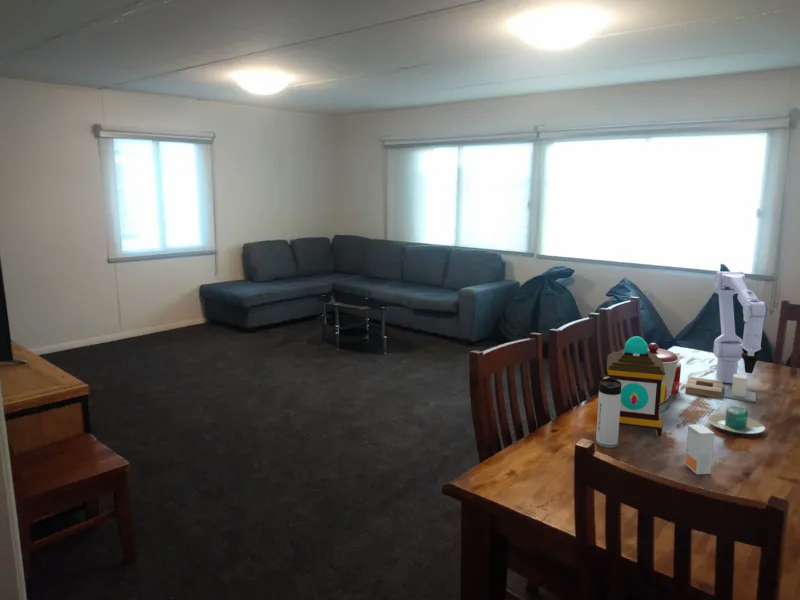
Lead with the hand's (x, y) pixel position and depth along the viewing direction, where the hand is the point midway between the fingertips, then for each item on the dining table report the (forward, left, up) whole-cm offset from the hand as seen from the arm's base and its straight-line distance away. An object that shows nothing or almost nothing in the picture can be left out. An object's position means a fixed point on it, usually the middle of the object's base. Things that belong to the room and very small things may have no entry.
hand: (748, 370), depth 214 cm
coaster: (+1, -2, -10) cm, 10 cm away
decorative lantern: (+49, -33, -10) cm, 60 cm away
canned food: (+7, -26, -10) cm, 29 cm away
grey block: (+1, -2, -9) cm, 10 cm away
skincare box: (+73, -12, -10) cm, 75 cm away
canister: (+20, -31, -10) cm, 38 cm away
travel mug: (+68, -37, -10) cm, 78 cm away
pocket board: (0, -14, -10) cm, 17 cm away
